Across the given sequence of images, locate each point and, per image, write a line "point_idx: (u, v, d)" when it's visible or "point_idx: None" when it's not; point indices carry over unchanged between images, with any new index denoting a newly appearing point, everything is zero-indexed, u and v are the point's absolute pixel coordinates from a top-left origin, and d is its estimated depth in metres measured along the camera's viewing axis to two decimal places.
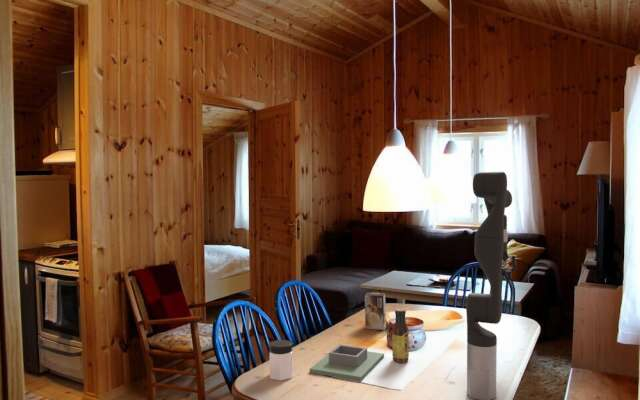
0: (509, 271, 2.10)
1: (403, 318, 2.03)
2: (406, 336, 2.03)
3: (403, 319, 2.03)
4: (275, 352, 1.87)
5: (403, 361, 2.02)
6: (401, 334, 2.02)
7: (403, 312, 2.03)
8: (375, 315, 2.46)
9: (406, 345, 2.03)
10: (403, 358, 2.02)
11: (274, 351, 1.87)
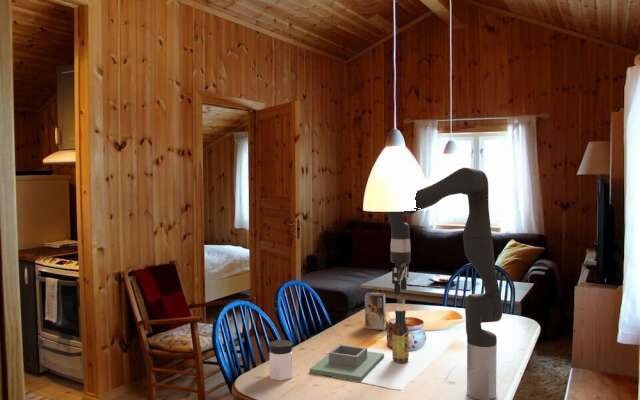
0: (406, 279, 2.08)
1: (403, 318, 2.03)
2: (406, 336, 2.03)
3: (403, 319, 2.03)
4: (275, 352, 1.87)
5: (403, 361, 2.02)
6: (401, 334, 2.02)
7: (403, 312, 2.03)
8: (375, 315, 2.46)
9: (406, 345, 2.03)
10: (403, 358, 2.02)
11: (274, 351, 1.87)
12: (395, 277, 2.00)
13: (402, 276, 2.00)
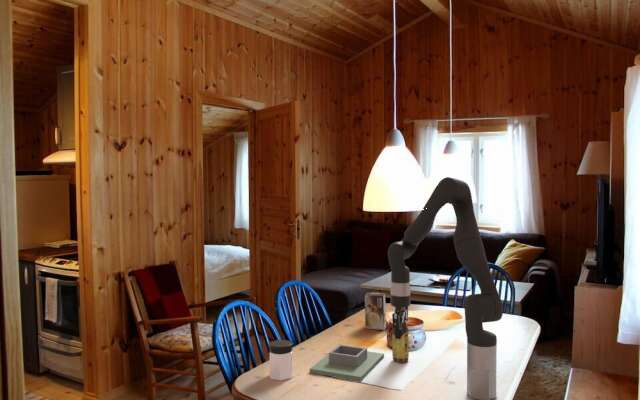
0: None
1: None
2: (406, 336, 2.02)
3: None
4: (275, 352, 1.87)
5: (403, 361, 2.02)
6: (401, 334, 2.02)
7: None
8: (375, 315, 2.46)
9: (406, 345, 2.03)
10: (403, 358, 2.02)
11: (274, 351, 1.87)
12: None
13: (402, 320, 2.01)
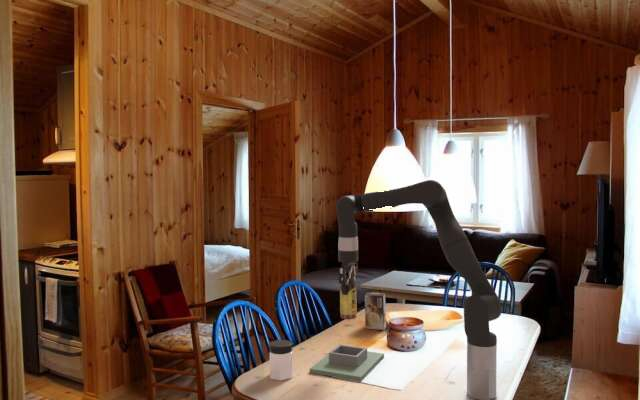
0: (354, 280, 2.03)
1: None
2: (353, 292, 1.98)
3: None
4: (275, 352, 1.87)
5: (350, 317, 1.98)
6: (348, 289, 1.97)
7: None
8: (375, 315, 2.46)
9: (353, 301, 1.98)
10: (350, 315, 1.98)
11: (274, 351, 1.87)
12: (342, 277, 1.97)
13: (349, 276, 1.97)
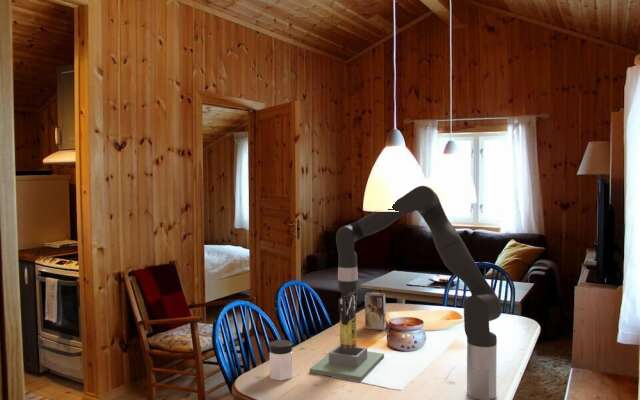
0: (354, 309, 2.03)
1: None
2: (353, 322, 1.98)
3: None
4: (275, 352, 1.87)
5: (350, 347, 1.98)
6: (348, 319, 1.98)
7: None
8: (375, 315, 2.46)
9: (353, 331, 1.98)
10: (350, 345, 1.98)
11: (274, 351, 1.87)
12: None
13: (349, 306, 1.97)
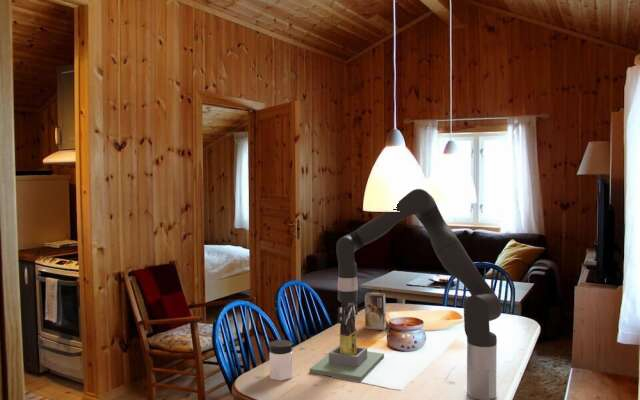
0: (355, 317, 2.04)
1: (350, 318, 1.99)
2: (353, 336, 1.98)
3: (350, 319, 1.99)
4: (275, 352, 1.87)
5: None
6: (348, 333, 1.98)
7: None
8: (375, 315, 2.46)
9: (353, 345, 1.98)
10: None
11: (274, 351, 1.87)
12: (341, 316, 1.97)
13: (348, 315, 1.97)
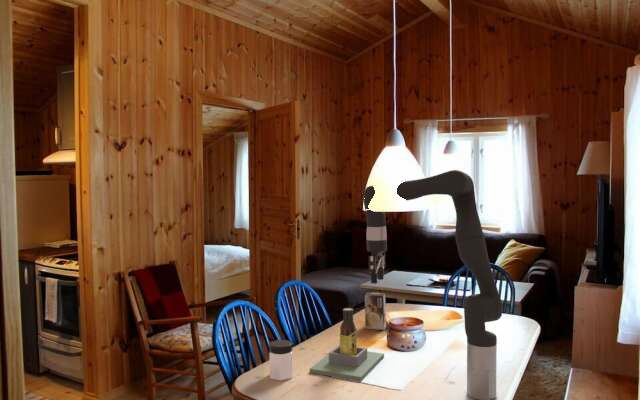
0: (383, 268, 2.04)
1: (350, 318, 1.99)
2: (353, 336, 1.98)
3: (350, 319, 1.99)
4: (275, 352, 1.87)
5: None
6: (348, 333, 1.98)
7: (350, 311, 1.99)
8: (375, 315, 2.46)
9: (353, 345, 1.98)
10: None
11: (274, 351, 1.87)
12: (372, 266, 1.96)
13: (379, 265, 1.96)
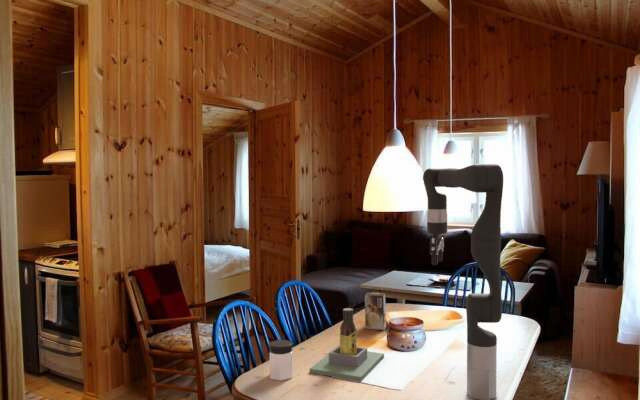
0: (442, 251, 2.06)
1: (350, 318, 1.99)
2: (353, 336, 1.98)
3: (350, 319, 1.99)
4: (275, 352, 1.87)
5: None
6: (348, 333, 1.98)
7: (350, 311, 1.99)
8: (375, 315, 2.46)
9: (353, 345, 1.98)
10: None
11: (274, 351, 1.87)
12: (432, 248, 1.99)
13: (439, 246, 1.98)
